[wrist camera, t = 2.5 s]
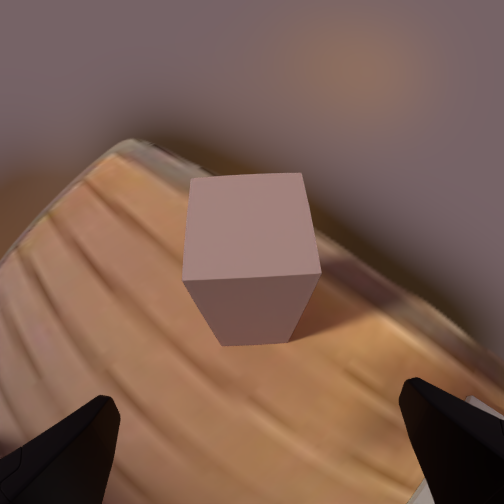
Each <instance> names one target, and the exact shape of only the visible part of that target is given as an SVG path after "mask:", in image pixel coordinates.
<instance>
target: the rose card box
mask: <svg viewBox="0 0 504 504" xmlns="http://www.w3.org/2000/svg"><path fill="white" fill-rule="evenodd" d="M321 274H322V272H321V267H320V261H319V255H318V250H317V244H316V239H315V234H314V229H313V224H312V219H311V214H310V209H309V204H308V200H307V195H306V191H305V186H304V182H303V178H302V173H274V174H249V175H231V176H215V177H202V178H191V184H190V193H189V202H188V211H187V222H186V233H185V245H184V258H183V272H182V281H183V283H184V285H185V287H186V288H187V290H188V292H189V294H190V295H191V297H192V299H193V300H194V302H195V304H196V305H197V307H198V309H199V310H200V312H201V314H202V315H203V317H204V319H205V320H206V322H207V324H208V325H209V327H210V328H211V330H212V332H213V333H214V335H215V336H216V338H217V340H218V341H219V343H220V344H221V346H243V345H262V344H277V343H288V341H289V339H290V337H291V335H292V333H293V331H294V329H295V327H296V325H297V323H298V321H299V319H300V317H301V315H302V313H303V311H304V309H305V307H306V305H307V303H308V301H309V299H310V297H311V295H312V293H313V291H314V289H315V286H316V284H317V282H318V280H319V278H320V276H321Z"/></svg>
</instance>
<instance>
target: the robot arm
mask: <svg viewBox="0 0 504 504" xmlns="http://www.w3.org/2000/svg"><path fill="white" fill-rule="evenodd" d="M399 406H400V409H401V412H402V416H403V419H404V422H405V425H406V429H407V432H408V436H409V439H410V442H411V444H412V447H413V449H414V452H415V454H416V456H417V459H418V461H419V464H420V466H421V469H422V471H423V474H424V476H425V479H426V482H427V484H428V487H429V489H430V492H431V495H432V498H433V500H434V503H435V504H504V420H502V419H499V418H498V417H496V416H494V415H492V414H490V413H488V412H486V411H484V410H481V409H479V408H477V407H475V406H473V405H471V404H469V403H467V402H465V401H463V400H461V399H459V398H457V397H455V396H453V395H451V394H449V393H447V392H445V391H443V390H442V389H440V388H438V387H436V386H434V385H432V384H430V383H428V382H426V381H424V380H422V379H420V378H418V377H415V378H411V379H407V380H406V381H405V382H404V385H403V388H402V391H401V394H400V396H399ZM119 425H120V413H119V411H118V409H117V407H116V405H115V403H114V401H113V399H112V398H111V397H110V396H104V395H98V396H97V397H95V398H94V399H92V400H91V401H89V402H88V403H87V404H85V405H84V406H82V407H81V408H79V409H78V410H76V411H75V412H73V413H72V414H70V415H69V416H67V417H66V418H64V419H63V420H61V421H60V422H58V423H57V424H55V425H54V426H52V427H51V428H49V429H48V430H46V431H45V432H43V433H42V434H40V435H39V436H37V437H36V438H34V439H33V440H31V441H29V442H28V443H26V444H25V445H23V447H20V448H18V449H17V450H15V451H14V452H12V453H10V454H9V455H7V456H5V457H3V458H1V459H0V504H102V501H103V497H104V493H105V489H106V485H107V482H108V478H109V474H110V471H111V467H112V463H113V459H114V454H115V449H116V442H117V437H118V431H119Z"/></svg>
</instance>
